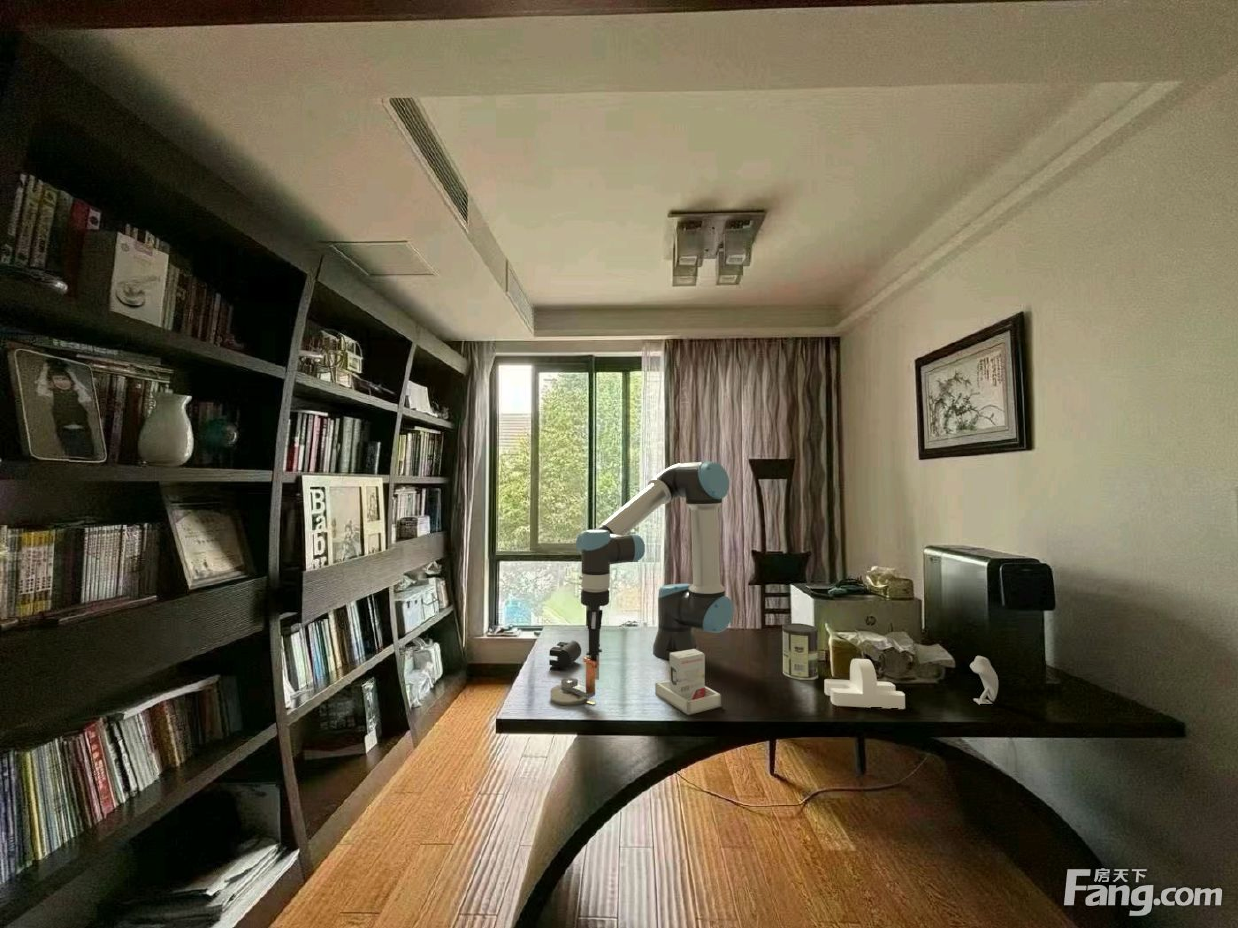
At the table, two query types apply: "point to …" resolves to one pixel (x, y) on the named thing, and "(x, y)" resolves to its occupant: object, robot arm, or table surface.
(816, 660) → the coffee can
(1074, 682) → the table surface
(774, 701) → the table surface
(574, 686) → the crank
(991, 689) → the figurine
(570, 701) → the crank housing
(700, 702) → the tray
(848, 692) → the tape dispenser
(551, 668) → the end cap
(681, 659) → the ink box
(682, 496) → the robot arm
